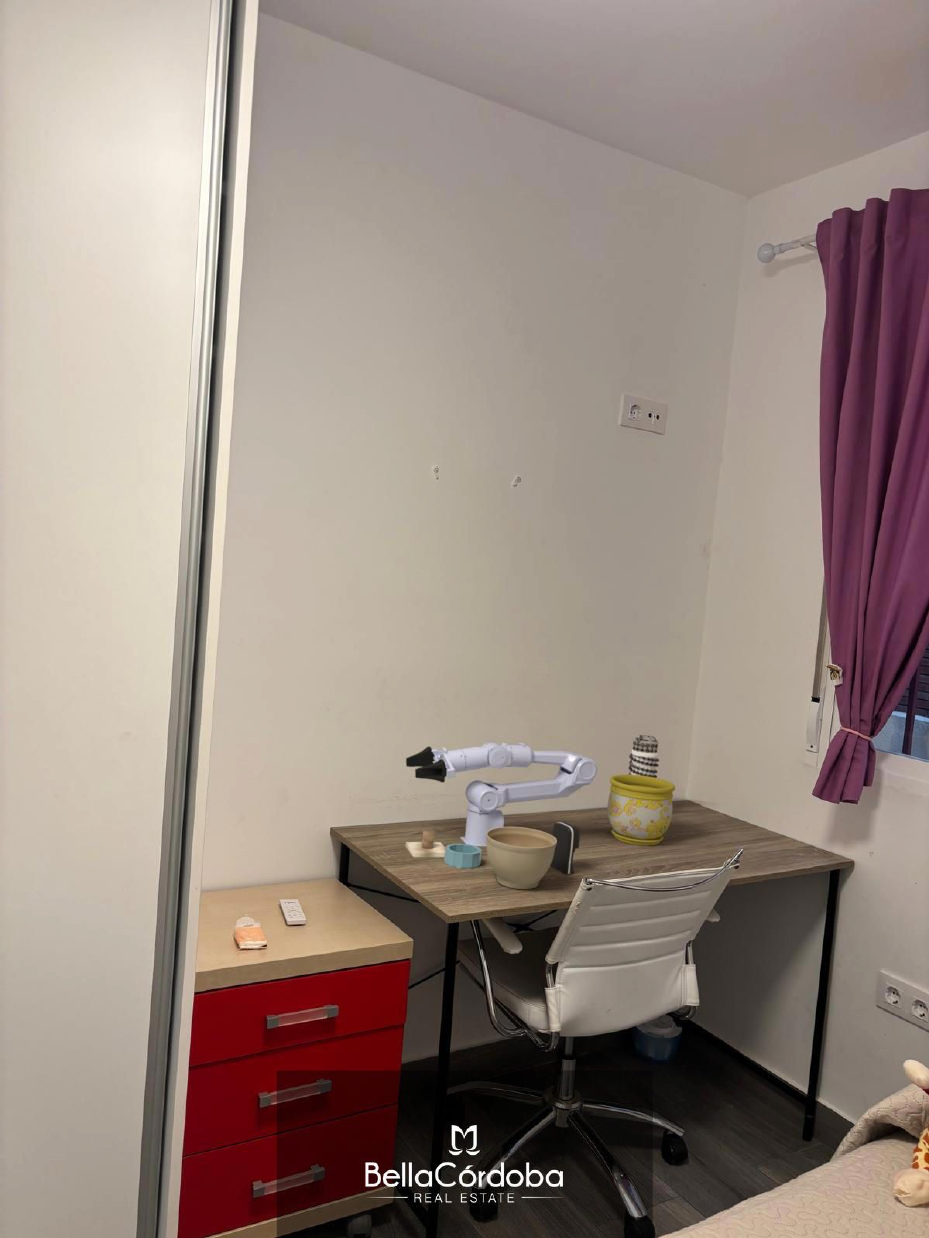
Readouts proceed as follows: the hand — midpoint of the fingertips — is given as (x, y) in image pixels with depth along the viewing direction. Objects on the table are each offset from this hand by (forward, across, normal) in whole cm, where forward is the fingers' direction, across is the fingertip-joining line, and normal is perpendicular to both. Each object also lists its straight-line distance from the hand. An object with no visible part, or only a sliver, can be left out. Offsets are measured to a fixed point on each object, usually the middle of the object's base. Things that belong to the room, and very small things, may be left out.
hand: (410, 767), depth 236 cm
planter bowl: (-14, +34, +17) cm, 41 cm away
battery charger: (-30, +27, +21) cm, 45 cm away
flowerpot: (-64, +4, +30) cm, 71 cm away
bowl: (-6, +20, +18) cm, 28 cm away
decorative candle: (-79, -20, +36) cm, 89 cm away
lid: (0, +11, +18) cm, 21 cm away
